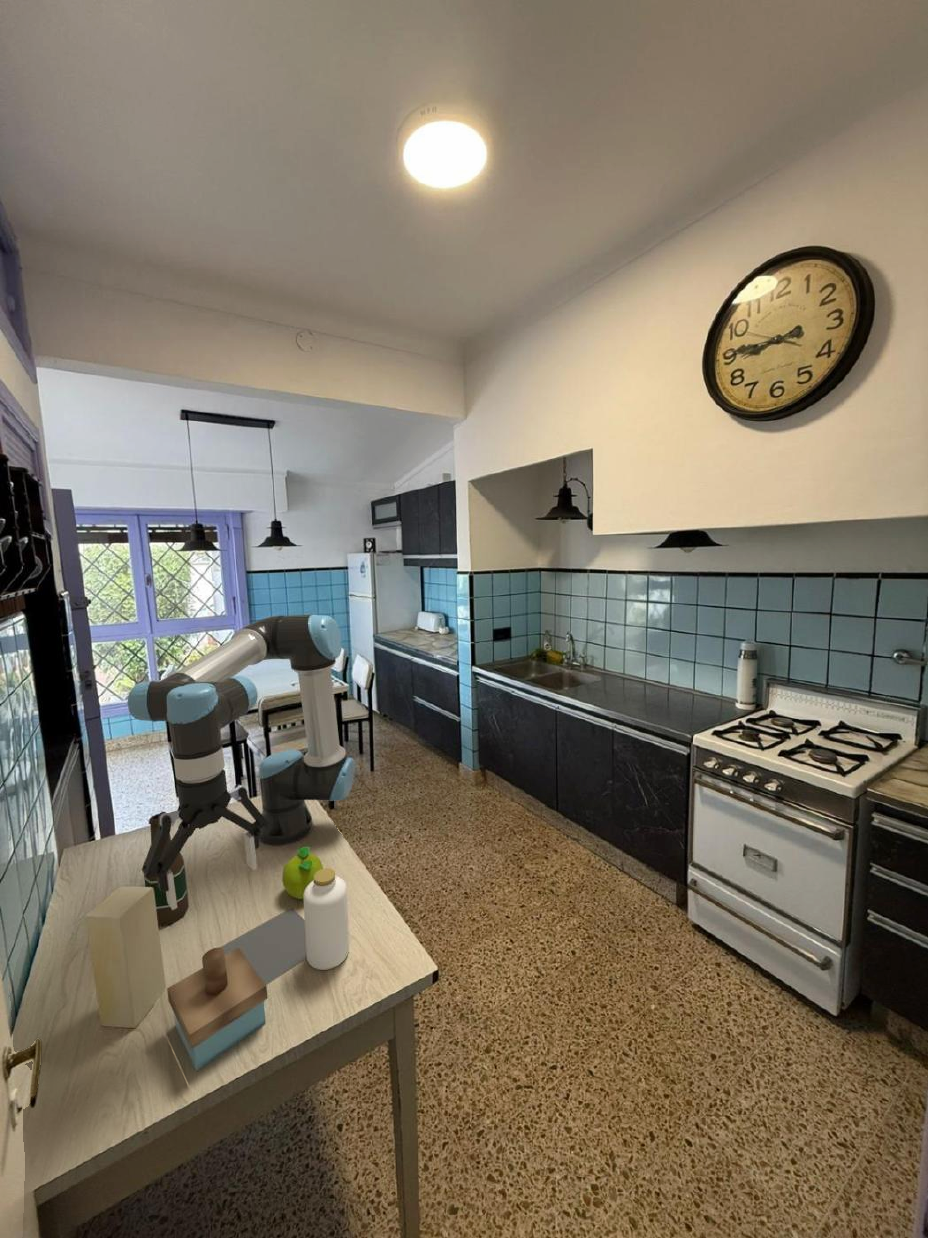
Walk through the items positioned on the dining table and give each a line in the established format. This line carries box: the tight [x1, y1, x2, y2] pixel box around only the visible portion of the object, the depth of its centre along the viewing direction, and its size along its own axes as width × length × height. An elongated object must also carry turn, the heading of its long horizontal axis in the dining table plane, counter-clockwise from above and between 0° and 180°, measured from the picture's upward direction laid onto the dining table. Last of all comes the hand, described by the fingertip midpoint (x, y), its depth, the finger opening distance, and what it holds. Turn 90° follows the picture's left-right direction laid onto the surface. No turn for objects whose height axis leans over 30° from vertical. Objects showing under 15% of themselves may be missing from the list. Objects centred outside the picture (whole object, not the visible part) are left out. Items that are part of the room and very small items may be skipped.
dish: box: [173, 1001, 267, 1072], centre depth 85 cm, size 11×11×5 cm
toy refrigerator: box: [85, 885, 167, 1029], centre depth 88 cm, size 8×7×21 cm
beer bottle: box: [143, 813, 190, 928], centre depth 111 cm, size 8×8×24 cm
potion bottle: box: [303, 867, 350, 971], centre depth 98 cm, size 8×8×18 cm
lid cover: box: [166, 946, 268, 1049], centre depth 84 cm, size 12×12×8 cm
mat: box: [220, 907, 307, 986], centre depth 102 cm, size 16×16×1 cm
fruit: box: [281, 846, 324, 900], centre depth 118 cm, size 9×9×10 cm
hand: (214, 884), depth 89 cm, fingers open, 13 cm apart
